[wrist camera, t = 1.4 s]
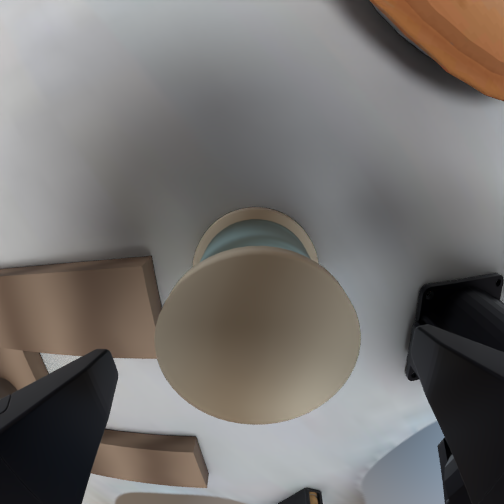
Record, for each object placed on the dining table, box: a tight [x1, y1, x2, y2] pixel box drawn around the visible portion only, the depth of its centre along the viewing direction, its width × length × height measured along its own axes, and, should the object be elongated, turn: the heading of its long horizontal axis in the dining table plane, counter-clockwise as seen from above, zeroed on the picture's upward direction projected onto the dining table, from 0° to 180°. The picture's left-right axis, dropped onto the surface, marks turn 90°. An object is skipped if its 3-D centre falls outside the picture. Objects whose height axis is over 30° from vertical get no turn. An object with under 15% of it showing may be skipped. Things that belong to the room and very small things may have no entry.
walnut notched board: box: [0, 256, 209, 488], centre depth 15 cm, size 18×18×6 cm
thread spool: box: [155, 207, 361, 424], centre depth 12 cm, size 6×6×7 cm
